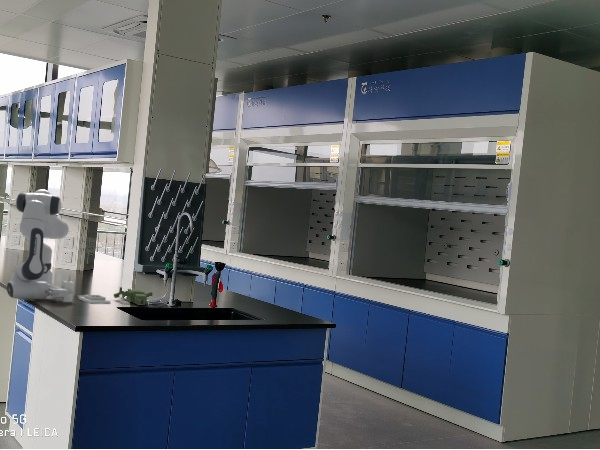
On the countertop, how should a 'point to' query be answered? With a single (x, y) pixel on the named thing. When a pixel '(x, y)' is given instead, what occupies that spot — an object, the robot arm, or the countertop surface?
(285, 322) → the countertop surface
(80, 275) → the countertop surface
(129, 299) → the toy
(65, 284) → the charger
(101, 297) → the outlet plate
